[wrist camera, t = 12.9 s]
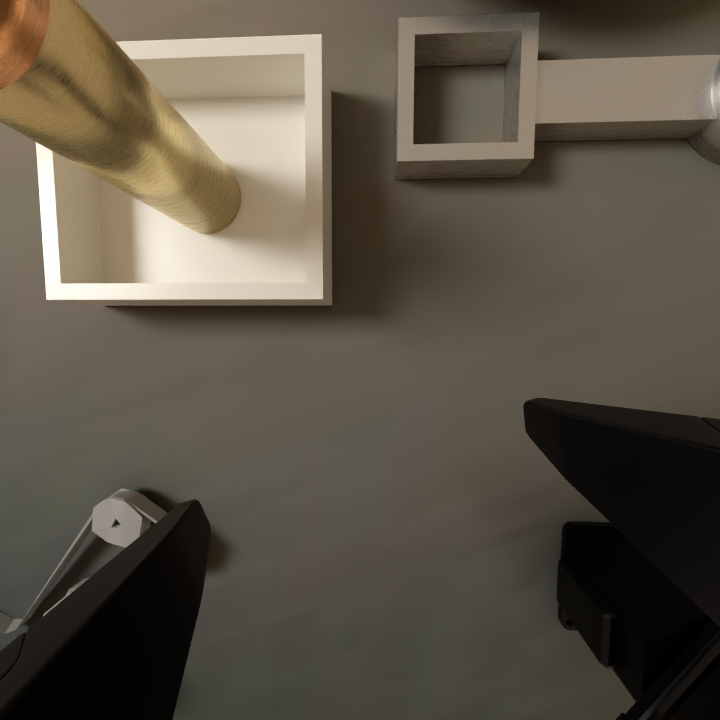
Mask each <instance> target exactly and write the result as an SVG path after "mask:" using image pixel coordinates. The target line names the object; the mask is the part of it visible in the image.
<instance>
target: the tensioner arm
mask: <svg viewBox="0 0 720 720" xmlns="http://www.w3.org/2000/svg"><path fill="white" fill-rule="evenodd" d="M538 37H539V12H531V13H506V14H480V15H454V16H429V17H403V18H399V19H398V33H397V46H396V106H395V180H396V179H452V178H508V177H517V176H518V175H519V174H520V173H521V172H522V171H523V170H524V169H525V167H526V166H527V165H528V164H529V163H530V162H531V161H532V160H533V159H534V141H578V140H623V139H668V138H687V139H688V141H689V143H690V144H691V146H692V147H693V148H694V149H695V150H696V151H697V152H698V153H699V154H700V155H701V156H703V157H704V158H706V159H708V160H710V161H712V162H715V163H718V164H720V52H718V53H717V54H716V55H692V56H662V57H631V58H601V59H570V60H540V61H538ZM485 64H506V75H505V105H504V135H503V142H499V143H454V144H413V119H414V67H424V66H454V65H485Z"/></svg>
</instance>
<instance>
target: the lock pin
mask: <svg viewBox="0 0 720 720" xmlns="http://www.w3.org/2000/svg"><path fill="white" fill-rule="evenodd" d="M0 122H2V123H3V124H5V125H7V126H9V127H10V128H12V129H14V130H16V131H18V132H19V133H21V134H23V135H25V136H26V137H28V138H30V139H32V140H33V141H35V142H37V143H39V144H40V145H42V146H44V147H46V148H48V149H49V150H51V151H53V152H55V153H56V154H58V155H60V156H62V157H63V158H65V159H67V160H69V161H71V162H72V163H74V164H76V165H78V166H79V167H81V168H83V169H85V170H86V171H88V172H90V173H92V174H94V175H95V176H97V177H99V178H101V179H102V180H104V181H106V182H108V183H109V184H111V185H113V186H115V187H116V188H118V189H120V190H122V191H124V192H125V193H127V194H129V195H131V196H132V197H134V198H136V199H138V200H139V201H141V202H143V203H145V204H147V205H148V206H150V207H152V208H154V209H155V210H157V211H159V212H161V213H162V214H164V215H166V216H168V217H170V218H171V219H173V220H175V221H177V222H178V223H180V224H182V225H184V226H185V227H187V228H189V229H191V230H193V231H195V232H198V233H203V234H211V233H216V232H219V231H221V230H223V229H225V228H226V227H228V226H229V225H230V224H231V223H232V222H233V220H234V219H235V218H236V216H237V214H238V212H239V209H240V205H241V190H240V186H239V183H238V181H237V179H236V177H235V176H234V174H233V173H232V172H231V171H230V170H229V168H228V167H227V166H226V165H225V164H224V163H223V162H222V161H221V159H220V158H219V157H218V156H217V155H216V154H215V153H214V152H213V151H212V149H211V148H210V147H209V146H208V145H207V144H206V143H205V142H204V140H203V139H202V138H201V137H200V136H199V135H198V134H197V133H196V131H195V130H194V129H193V128H192V127H191V126H190V125H189V124H188V123H187V121H186V120H185V119H184V118H183V117H182V116H181V115H180V114H179V112H178V111H177V110H176V109H175V108H174V107H173V106H172V105H171V104H170V102H169V101H168V100H167V99H166V98H165V97H164V96H163V95H162V93H161V92H160V91H159V90H158V89H157V88H156V87H155V86H154V85H153V83H152V82H151V81H150V80H149V79H148V78H147V77H146V76H145V74H144V73H143V72H142V71H141V70H140V69H139V68H138V67H137V65H136V64H135V63H134V62H133V61H132V60H131V59H130V58H129V57H128V55H127V54H126V53H125V52H124V51H123V50H122V49H121V48H120V46H119V45H118V44H117V43H116V42H115V41H114V40H113V39H112V38H111V36H110V35H109V34H108V33H107V32H106V31H105V30H104V29H103V27H102V26H101V25H100V24H99V23H98V22H97V21H96V20H95V19H94V17H93V16H92V15H91V14H90V13H89V12H88V11H87V10H86V8H85V7H84V6H83V5H82V4H81V3H80V2H79V1H78V0H0Z"/></svg>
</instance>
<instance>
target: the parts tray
mask: <svg viewBox="0 0 720 720" xmlns="http://www.w3.org/2000/svg"><path fill="white" fill-rule="evenodd" d="M116 43H117V44H118V45H119V46H120V48H121V49H122V50H123V51H124V52H125V53H126V54H127V55H128V57H129V58H130V59H131V60H132V61H133V62H134V63H135V64H136V65H137V67H138V68H139V69H140V70H141V71H142V72H143V73H144V74H145V76H146V77H147V78H148V79H149V80H150V81H151V82H152V83H153V85H154V86H155V87H156V88H157V89H158V90H159V91H160V92H161V93H162V95H163V96H164V97H165V98H166V99H167V100H168V101H169V102H170V104H171V105H172V106H173V107H174V108H175V109H176V110H177V111H178V112H179V114H180V115H181V116H182V117H183V118H184V119H185V120H186V121H187V123H188V124H189V125H190V126H191V127H192V128H193V129H194V130H195V131H196V133H197V134H198V135H199V136H200V137H201V138H202V139H203V140H204V142H205V143H206V144H207V145H208V146H209V147H210V148H211V149H212V151H213V152H214V153H215V154H216V155H217V156H218V157H219V158H220V159H221V161H222V162H223V163H224V164H225V165H226V166H227V167H228V168H229V170H230V171H231V172H232V173H233V174H234V176H235V177H236V179H237V181H238V183H239V186H240V190H241V205H240V209H239V212H238V214H237V216H236V218H235V219H234V220H233V222H232V223H231V224H230V225H229V226H228V227H226V228H225V229H223V230H221V231H219V232H216V233H211V234H203V233H198V232H195V231H193V230H191V229H189V228H187V227H185V226H184V225H182V224H180V223H178V222H177V221H175V220H173V219H171V218H170V217H168V216H166V215H164V214H162V213H161V212H159V211H157V210H155V209H154V208H152V207H150V206H148V205H147V204H145V203H143V202H141V201H139V200H138V199H136V198H134V197H132V196H131V195H129V194H127V193H125V192H124V191H122V190H120V189H118V188H116V187H115V186H113V185H111V184H109V183H108V182H106V181H104V180H102V179H101V178H99V177H97V176H95V175H94V174H92V173H90V172H88V171H86V170H85V169H83V168H81V167H79V166H78V165H76V164H74V163H72V162H71V161H69V160H67V159H65V158H63V157H62V156H60V155H58V154H56V153H55V152H53V151H51V150H49V149H48V148H46V147H44V146H42V145H40V144H39V143H37V142H36V150H37V165H38V180H39V195H40V210H41V224H42V239H43V254H44V269H45V284H46V299H47V300H54V301H63V302H72V303H82V304H91V305H100V306H332V99H331V85H330V79H329V74H328V68H327V62H326V57H325V51H324V45H323V40H322V34H313V35H287V36H260V37H233V38H206V39H179V40H152V41H126V42H116Z"/></svg>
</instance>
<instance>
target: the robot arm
mask: <svg viewBox="0 0 720 720" xmlns="http://www.w3.org/2000/svg"><path fill="white" fill-rule="evenodd" d="M523 409H524V420H525V429H526V432H527V434H528V436H529V437H530V438H531V440H532V441H533V442H534V443H535V444H536V445H537V447H538V448H539V449H540V450H541V451H542V452H543V454H544V455H545V456H546V457H547V458H548V459H549V461H550V462H551V463H552V464H553V465H554V466H555V468H556V469H557V470H558V471H559V472H560V473H561V474H562V475H563V477H564V478H565V479H566V480H567V481H568V482H569V483H570V484H571V485H572V486H573V487H574V488H575V489H576V490H577V491H579V492H580V493H581V494H582V495H583V496H584V497H585V498H586V499H587V500H588V501H589V502H590V503H591V504H592V505H593V506H594V507H595V508H596V509H597V510H598V511H599V512H600V513H601V514H603V515H604V516H605V517H606V518H607V519H608V520H609V521H610V522H611V523H601V522H568V523H566V524H565V525H564V526H563V529H562V547H561V559H560V560H559V562H558V582H557V601H558V603H559V606H558V619H559V621H560V622H561V624H562V625H563V627H564V628H565V629H567V630H578V632H579V633H580V635H581V636H582V637H583V639H584V640H585V642H586V643H587V645H588V646H589V648H590V649H591V651H592V652H593V653H594V655H595V656H596V658H597V659H598V661H599V662H600V663H601V664H602V665H603V666H604V667H605V668H611V669H613V670H614V672H615V673H616V675H617V676H618V677H619V679H620V680H621V682H622V683H623V684H624V686H625V687H626V689H627V690H628V691H629V693H630V694H631V696H632V697H633V699H634V700H635V701H636V702H635V704H634V705H633V706H632V707H631V708H630V709H629V710H628V711H627V712H626V714H624V713H621V714H620V715H619V716H618V717H617V719H616V720H720V419H714V418H705V417H702V418H699V417H696V416H688V415H680V414H671V413H663V412H655V411H646V410H638V409H630V408H622V407H613V406H605V405H597V404H588V403H580V402H572V401H563V400H555V399H547V398H535V399H532V400H528V401H526V402H525V403H524V406H523ZM572 530H575V532H574V533H573V534H571V531H572ZM210 537H211V528H210V524H209V522H208V519H207V517H206V515H205V513H204V510H203V508H202V506H201V504H200V502H199V501H198V500H196V499H193V500H190V501H186V502H183V503H180V504H178V505H177V506H176V507H175V508H173V509H172V510H171V511H170V512H169V513H167V514H166V515H165V516H164V517H163V518H161V519H160V520H159V521H158V522H157V523H155V524H154V525H153V526H152V527H150V528H149V529H148V530H147V531H146V532H144V533H143V534H142V535H141V536H140V537H138V538H137V539H136V540H135V541H133V542H132V543H131V544H130V545H129V546H127V547H126V548H125V549H124V550H123V551H121V552H120V553H119V554H118V555H117V556H115V557H114V558H113V559H112V560H110V561H109V562H108V563H107V564H106V565H104V566H103V567H102V568H101V569H100V570H98V571H97V572H96V573H95V574H94V575H92V576H91V577H90V578H89V579H87V580H86V581H85V582H84V583H83V584H81V585H80V586H79V587H78V588H77V589H75V590H74V591H73V592H72V593H71V594H69V595H68V596H67V597H66V598H64V599H63V600H62V601H61V602H60V603H58V604H57V605H56V606H55V607H54V608H52V609H51V610H50V611H49V612H48V613H46V614H45V615H44V616H43V617H41V618H40V619H39V620H38V621H37V622H35V623H34V624H33V625H32V626H31V627H29V628H28V630H27V632H26V633H22V634H21V635H20V636H18V637H17V638H16V639H15V640H14V641H12V642H11V643H10V644H9V645H7V646H6V647H5V648H4V649H3V650H1V651H0V720H172V719H173V715H174V711H175V707H176V703H177V699H178V694H179V690H180V686H181V682H182V678H183V674H184V670H185V666H186V661H187V657H188V653H189V649H190V645H191V641H192V637H193V633H194V628H195V624H196V620H197V616H198V612H199V608H200V603H201V599H202V594H203V588H204V581H205V574H206V566H207V559H208V552H209V544H210ZM567 619H569V620H567ZM566 620H567V621H566Z"/></svg>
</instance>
